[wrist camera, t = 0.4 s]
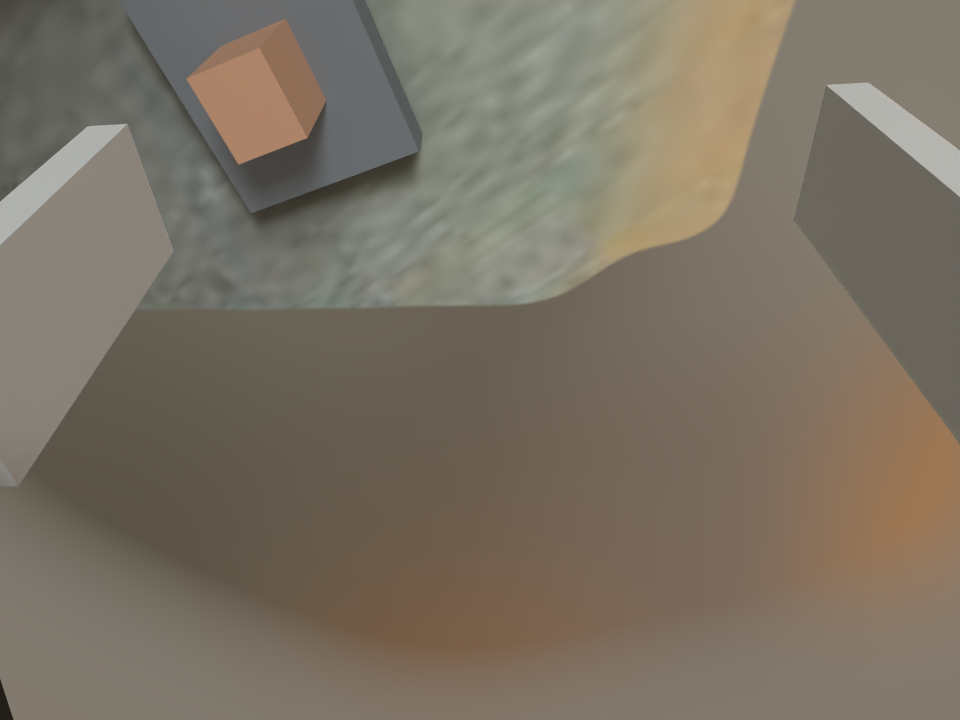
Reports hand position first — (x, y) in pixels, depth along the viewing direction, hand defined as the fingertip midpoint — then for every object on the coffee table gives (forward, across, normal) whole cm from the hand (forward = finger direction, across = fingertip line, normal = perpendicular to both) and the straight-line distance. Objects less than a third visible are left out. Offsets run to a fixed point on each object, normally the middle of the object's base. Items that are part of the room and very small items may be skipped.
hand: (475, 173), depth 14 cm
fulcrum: (+25, -10, -4) cm, 27 cm away
